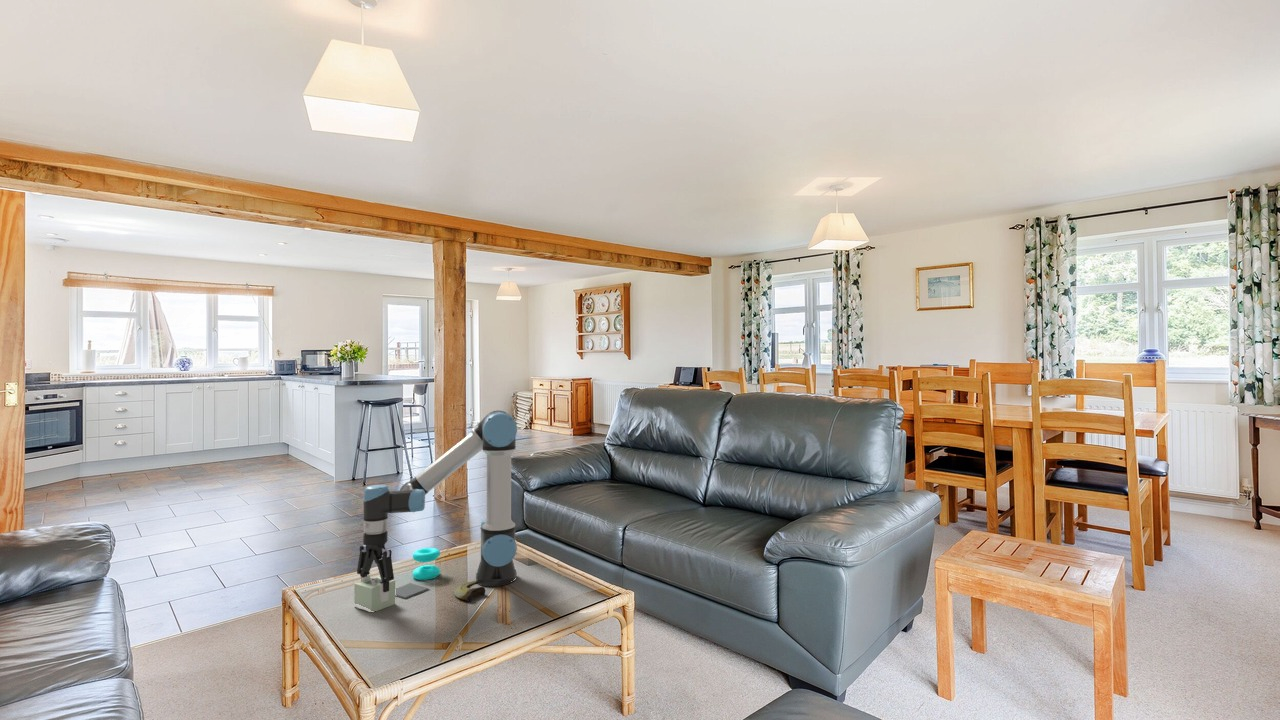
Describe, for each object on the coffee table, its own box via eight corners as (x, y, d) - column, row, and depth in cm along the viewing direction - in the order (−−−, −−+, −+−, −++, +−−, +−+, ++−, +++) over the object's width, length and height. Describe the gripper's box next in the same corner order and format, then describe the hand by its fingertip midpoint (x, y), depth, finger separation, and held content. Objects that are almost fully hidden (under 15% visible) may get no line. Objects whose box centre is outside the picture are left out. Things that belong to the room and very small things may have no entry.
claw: (487, 601, 203) (487, 591, 203) (456, 605, 199) (456, 595, 199) (480, 583, 221) (480, 574, 221) (451, 587, 217) (451, 578, 217)
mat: (428, 589, 212) (428, 588, 212) (405, 599, 203) (405, 597, 203) (410, 584, 217) (410, 583, 217) (386, 593, 208) (386, 591, 208)
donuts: (443, 551, 225) (415, 556, 219) (442, 577, 224) (415, 583, 219) (436, 545, 233) (410, 549, 228) (436, 570, 233) (410, 575, 227)
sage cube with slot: (395, 603, 199) (395, 580, 199) (371, 613, 192) (371, 588, 192) (378, 598, 204) (378, 575, 204) (354, 607, 196) (354, 583, 196)
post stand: (382, 604, 198) (383, 578, 199) (373, 608, 195) (373, 581, 195) (376, 602, 200) (376, 576, 200) (366, 606, 197) (366, 579, 197)
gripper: (345, 529, 200) (344, 595, 200) (386, 538, 189) (385, 608, 189) (365, 524, 207) (364, 588, 206) (406, 533, 196) (405, 600, 196)
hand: (374, 598), depth 198 cm, fingers closed on sage cube with slot, 9 cm apart
